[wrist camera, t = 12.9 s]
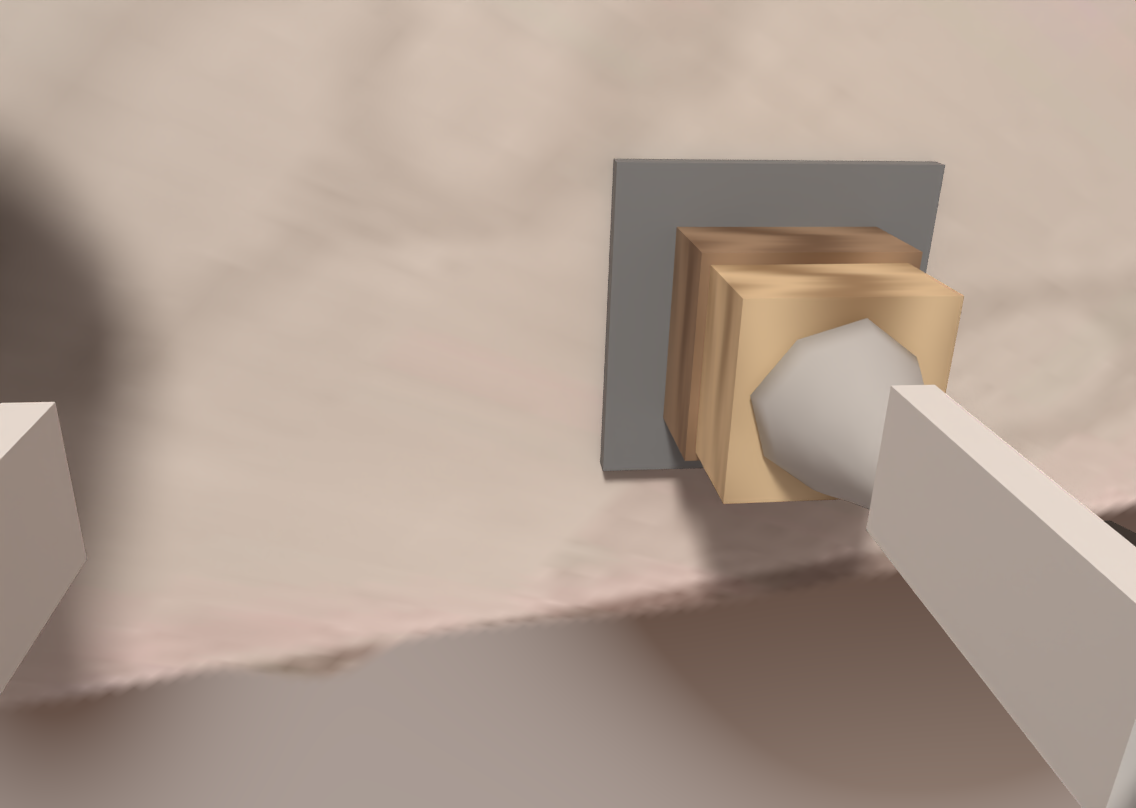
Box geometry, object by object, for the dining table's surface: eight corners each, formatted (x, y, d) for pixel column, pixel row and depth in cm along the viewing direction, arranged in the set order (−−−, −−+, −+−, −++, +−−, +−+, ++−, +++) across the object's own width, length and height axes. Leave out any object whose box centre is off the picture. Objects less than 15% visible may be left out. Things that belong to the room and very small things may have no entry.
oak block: (695, 451, 45) (723, 504, 40) (710, 265, 41) (743, 298, 37) (878, 445, 46) (925, 495, 41) (908, 263, 42) (964, 295, 38)
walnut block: (663, 417, 50) (685, 460, 45) (676, 226, 46) (702, 252, 41) (847, 413, 51) (887, 455, 46) (876, 226, 47) (922, 252, 42)
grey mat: (600, 462, 51) (603, 470, 50) (613, 159, 45) (617, 162, 44) (884, 454, 53) (892, 462, 52) (935, 161, 47) (945, 165, 46)
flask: (949, 419, 40) (1097, 545, 31) (802, 512, 41) (904, 662, 32) (873, 284, 37) (1011, 379, 28) (717, 389, 38) (802, 513, 29)
